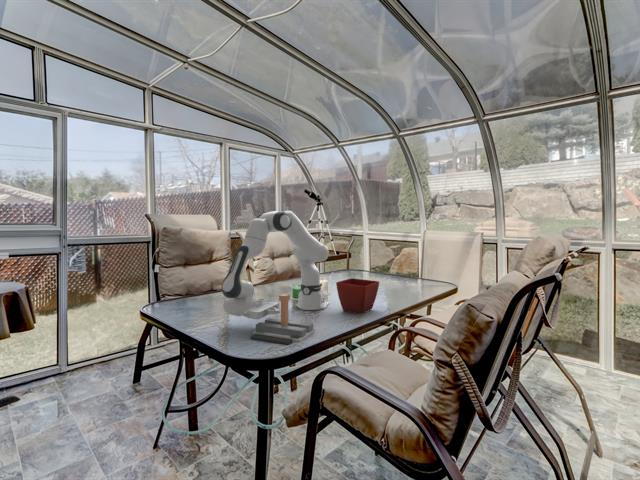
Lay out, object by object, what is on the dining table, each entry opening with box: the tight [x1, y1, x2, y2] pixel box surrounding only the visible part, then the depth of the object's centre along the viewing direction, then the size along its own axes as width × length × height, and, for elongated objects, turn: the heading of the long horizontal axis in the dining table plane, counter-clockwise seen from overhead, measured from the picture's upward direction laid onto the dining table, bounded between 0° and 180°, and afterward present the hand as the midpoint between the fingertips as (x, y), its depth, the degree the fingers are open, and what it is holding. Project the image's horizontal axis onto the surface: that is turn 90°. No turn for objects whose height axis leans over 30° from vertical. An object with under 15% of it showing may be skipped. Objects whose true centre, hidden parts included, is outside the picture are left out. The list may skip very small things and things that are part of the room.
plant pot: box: [335, 277, 380, 314], centre depth 202 cm, size 19×19×17 cm
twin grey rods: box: [250, 334, 294, 345], centre depth 151 cm, size 4×20×2 cm, turn 67°
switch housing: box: [252, 317, 316, 342], centre depth 162 cm, size 16×24×4 cm
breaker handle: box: [278, 293, 291, 326], centre depth 162 cm, size 4×4×16 cm
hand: (278, 311), depth 163 cm, fingers closed
